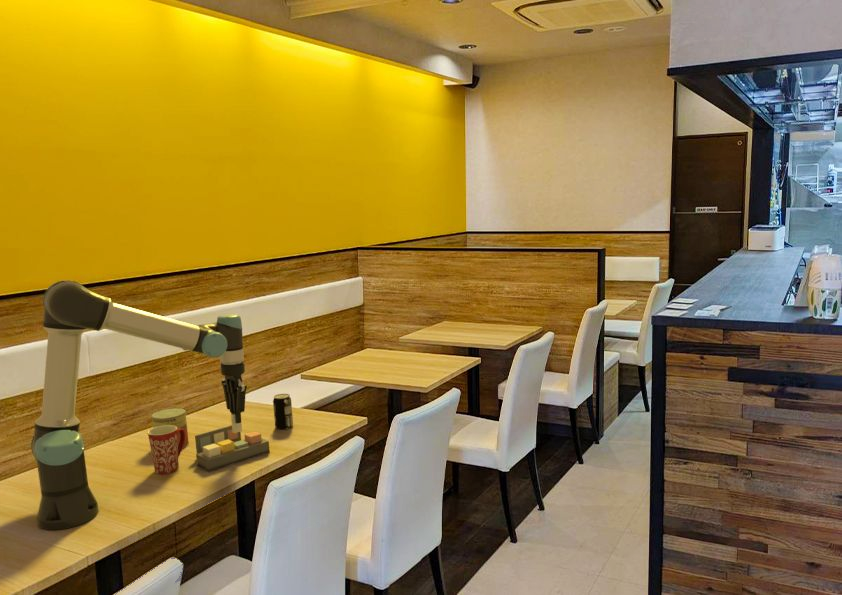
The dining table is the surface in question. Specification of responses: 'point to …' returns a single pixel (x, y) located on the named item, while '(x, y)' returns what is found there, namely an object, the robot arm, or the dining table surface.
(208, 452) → the key ivory
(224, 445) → the key mustard
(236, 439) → the placard
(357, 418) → the dining table surface
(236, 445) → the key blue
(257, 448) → the frame
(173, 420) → the canned food
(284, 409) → the beverage can
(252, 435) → the key terracotta
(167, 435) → the mug
